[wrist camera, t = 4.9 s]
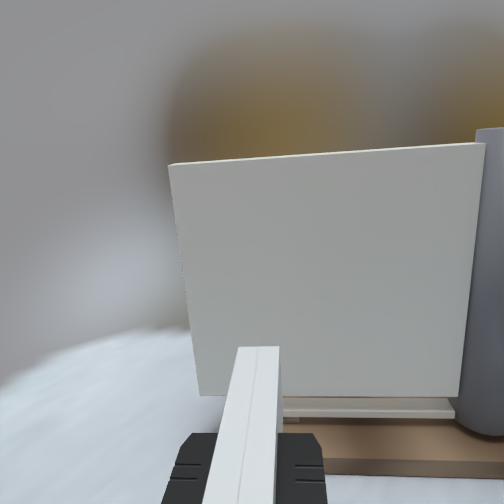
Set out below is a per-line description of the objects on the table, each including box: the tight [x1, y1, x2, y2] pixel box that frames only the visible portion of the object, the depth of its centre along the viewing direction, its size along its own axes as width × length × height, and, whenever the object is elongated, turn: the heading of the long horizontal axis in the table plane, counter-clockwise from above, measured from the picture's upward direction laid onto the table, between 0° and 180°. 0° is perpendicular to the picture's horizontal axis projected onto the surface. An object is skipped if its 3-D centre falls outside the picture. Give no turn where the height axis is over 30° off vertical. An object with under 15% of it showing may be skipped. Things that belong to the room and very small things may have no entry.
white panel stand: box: [168, 127, 504, 436], centre depth 18 cm, size 16×3×14 cm, turn 84°
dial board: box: [282, 396, 504, 479], centre depth 24 cm, size 16×13×1 cm
